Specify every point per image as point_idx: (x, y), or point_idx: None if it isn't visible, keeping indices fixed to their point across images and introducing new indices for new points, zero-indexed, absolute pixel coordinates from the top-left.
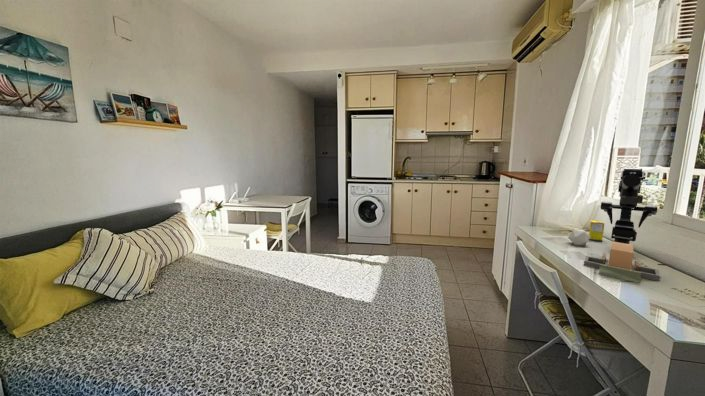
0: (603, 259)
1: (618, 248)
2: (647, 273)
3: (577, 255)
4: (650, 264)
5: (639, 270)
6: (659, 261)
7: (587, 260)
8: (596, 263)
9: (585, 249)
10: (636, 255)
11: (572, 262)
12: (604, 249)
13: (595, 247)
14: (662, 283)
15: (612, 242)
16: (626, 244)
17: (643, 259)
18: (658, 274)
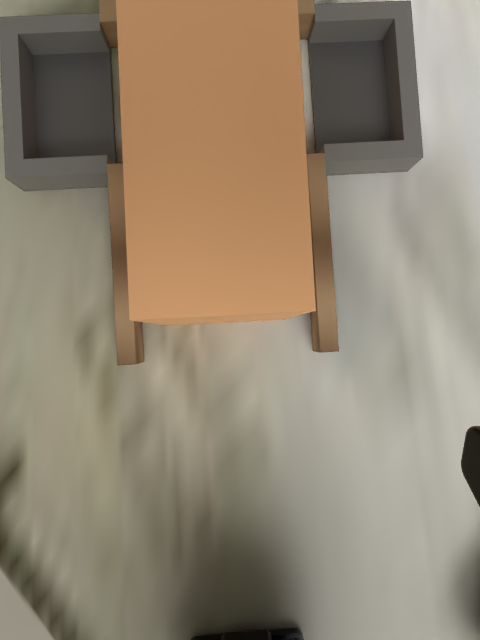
0: (314, 154)
1: (236, 13)
2: (60, 19)
3: (471, 250)
4: (59, 416)
5: None
6: (8, 564)
7: (396, 30)
8: (338, 3)
9: (460, 490)
10: (144, 620)
11: (462, 37)
12: (349, 620)
13: (412, 632)
14: (3, 10)
15: (309, 258)
16: (187, 276)
17: (99, 529)
18: (5, 49)
